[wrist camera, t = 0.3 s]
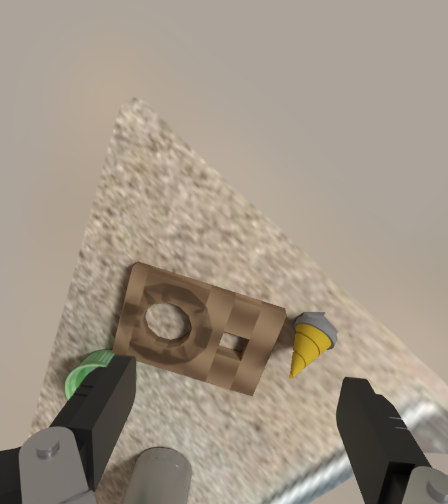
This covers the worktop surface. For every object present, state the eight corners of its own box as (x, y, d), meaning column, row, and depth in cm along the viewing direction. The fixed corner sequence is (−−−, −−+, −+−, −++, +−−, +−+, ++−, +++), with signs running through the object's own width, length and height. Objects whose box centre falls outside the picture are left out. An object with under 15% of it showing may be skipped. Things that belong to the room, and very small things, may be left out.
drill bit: (340, 331, 43) (307, 398, 38) (303, 311, 45) (268, 372, 40) (351, 313, 38) (316, 386, 34) (310, 292, 40) (271, 358, 36)
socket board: (252, 386, 46) (252, 396, 44) (117, 344, 45) (111, 352, 43) (284, 308, 42) (286, 315, 40) (137, 261, 41) (132, 266, 39)
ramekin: (81, 339, 45) (65, 358, 41) (144, 351, 45) (133, 372, 41) (78, 390, 48) (62, 413, 44) (137, 402, 48) (127, 426, 44)
